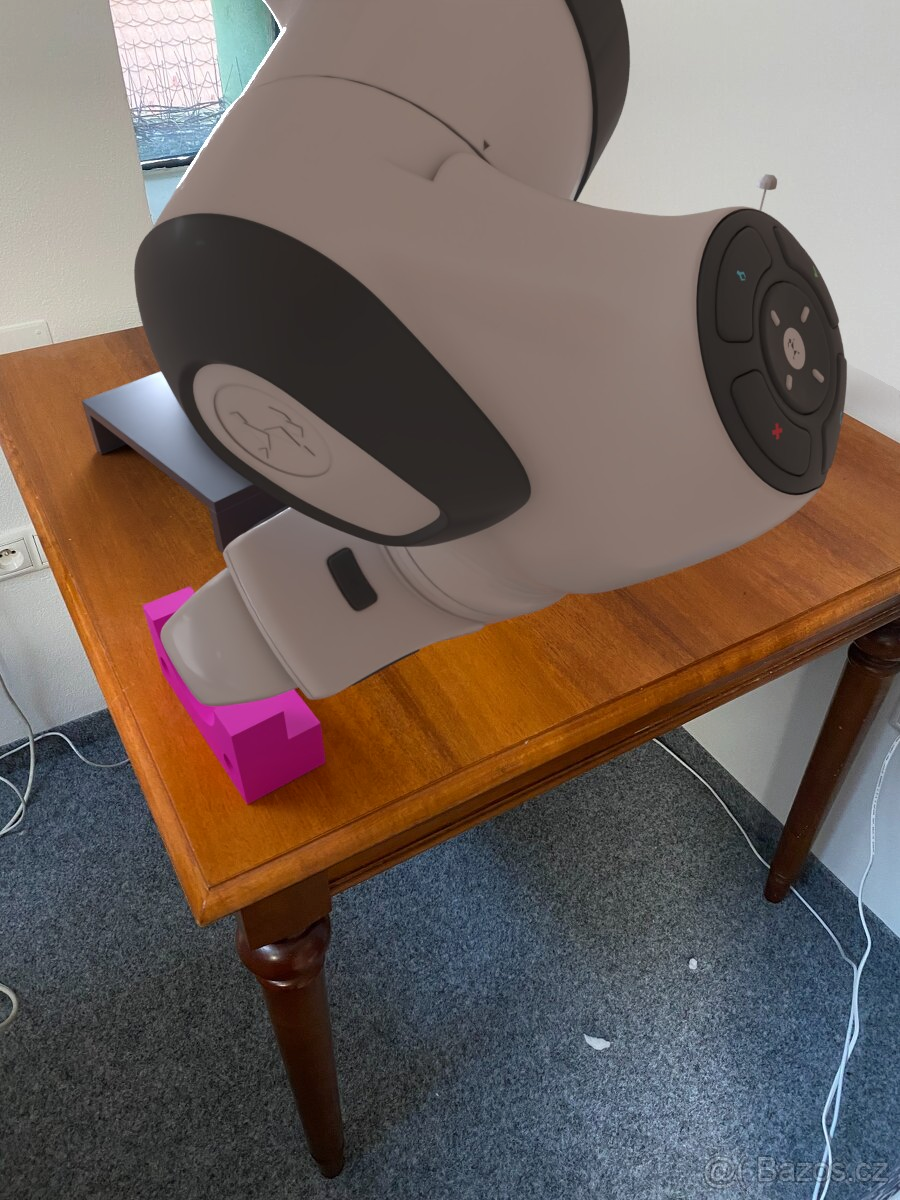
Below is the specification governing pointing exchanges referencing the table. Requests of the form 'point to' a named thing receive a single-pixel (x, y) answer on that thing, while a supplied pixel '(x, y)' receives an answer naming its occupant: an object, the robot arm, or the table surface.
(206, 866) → the table surface
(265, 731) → the toy block
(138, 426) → the shelf
